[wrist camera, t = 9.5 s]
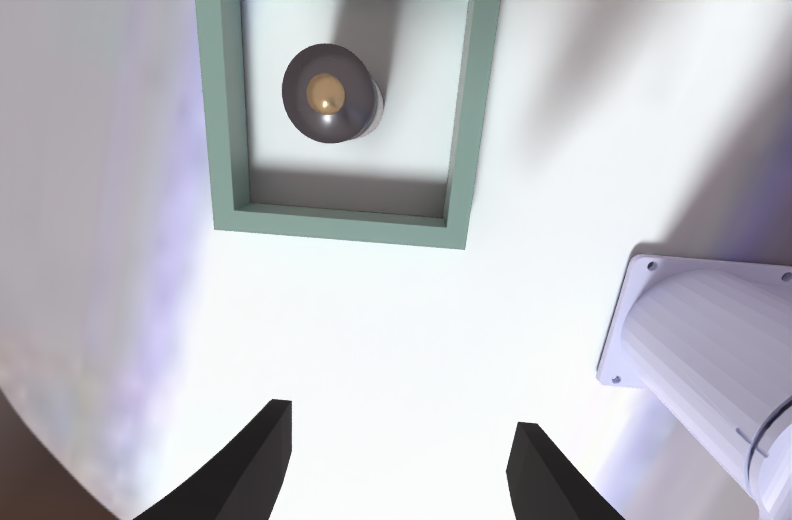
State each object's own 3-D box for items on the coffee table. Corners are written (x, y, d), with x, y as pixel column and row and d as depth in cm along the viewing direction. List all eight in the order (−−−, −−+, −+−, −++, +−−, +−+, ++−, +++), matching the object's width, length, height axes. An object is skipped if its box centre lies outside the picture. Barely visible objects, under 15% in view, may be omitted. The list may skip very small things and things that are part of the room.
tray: (496, -34, 16) (508, -56, 14) (459, 238, 20) (464, 249, 18) (213, -57, 16) (188, -82, 14) (232, 220, 20) (214, 229, 18)
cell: (386, 74, 18) (376, 46, 12) (380, 141, 19) (369, 148, 13) (321, 66, 18) (277, 35, 12) (319, 134, 19) (278, 138, 13)
